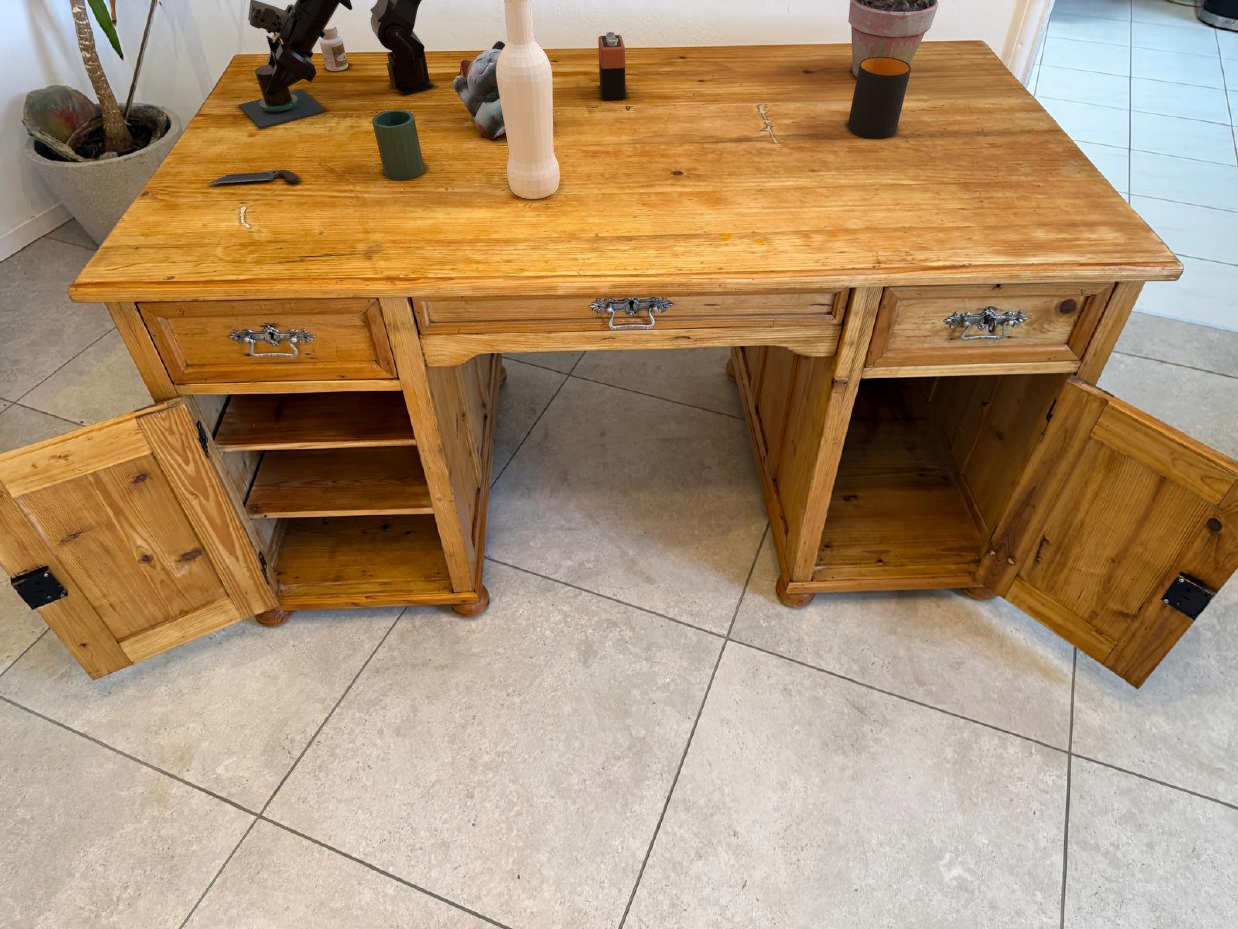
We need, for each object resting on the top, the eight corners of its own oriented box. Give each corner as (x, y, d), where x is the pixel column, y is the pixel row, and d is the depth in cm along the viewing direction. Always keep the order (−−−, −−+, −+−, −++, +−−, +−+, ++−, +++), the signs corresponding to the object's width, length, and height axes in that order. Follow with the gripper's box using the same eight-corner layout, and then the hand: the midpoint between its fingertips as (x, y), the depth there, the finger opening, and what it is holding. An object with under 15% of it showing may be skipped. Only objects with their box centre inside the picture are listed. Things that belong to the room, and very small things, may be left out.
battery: (602, 100, 150) (600, 43, 142) (599, 86, 154) (597, 29, 147) (625, 99, 150) (625, 41, 143) (622, 85, 154) (621, 28, 147)
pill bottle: (343, 72, 161) (332, 30, 155) (322, 70, 161) (311, 29, 156) (352, 64, 164) (342, 22, 158) (332, 62, 164) (321, 21, 159)
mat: (301, 90, 155) (301, 88, 154) (324, 111, 148) (324, 109, 148) (239, 106, 150) (238, 104, 150) (260, 128, 143) (259, 126, 143)
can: (413, 157, 135) (403, 106, 129) (430, 172, 131) (420, 120, 125) (378, 168, 132) (365, 116, 126) (394, 183, 129) (382, 130, 122)
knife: (301, 171, 131) (300, 167, 131) (297, 183, 129) (296, 179, 128) (213, 177, 130) (211, 173, 130) (207, 189, 128) (205, 185, 127)
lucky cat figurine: (478, 146, 137) (440, 61, 131) (480, 144, 148) (445, 66, 142) (559, 110, 136) (524, 23, 131) (555, 111, 147) (522, 31, 142)
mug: (874, 107, 146) (887, 46, 138) (904, 135, 138) (920, 72, 130) (831, 112, 145) (842, 50, 137) (859, 140, 137) (872, 77, 129)
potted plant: (837, 49, 166) (862, -96, 147) (934, 64, 159) (972, -85, 141) (810, 81, 154) (834, -72, 136) (913, 98, 148) (952, -59, 130)
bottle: (509, 177, 129) (484, -36, 108) (559, 174, 130) (545, -38, 108) (508, 202, 124) (482, -17, 102) (561, 199, 124) (546, -20, 103)
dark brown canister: (307, 105, 149) (296, 67, 144) (275, 118, 145) (263, 79, 140) (285, 96, 152) (273, 59, 147) (254, 108, 148) (241, 70, 143)
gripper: (260, -34, 141) (217, 43, 146) (274, -3, 129) (227, 80, 134) (319, 9, 149) (276, 81, 154) (336, 42, 137) (290, 118, 142)
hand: (266, 89), depth 146 cm, fingers closed on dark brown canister, 5 cm apart
